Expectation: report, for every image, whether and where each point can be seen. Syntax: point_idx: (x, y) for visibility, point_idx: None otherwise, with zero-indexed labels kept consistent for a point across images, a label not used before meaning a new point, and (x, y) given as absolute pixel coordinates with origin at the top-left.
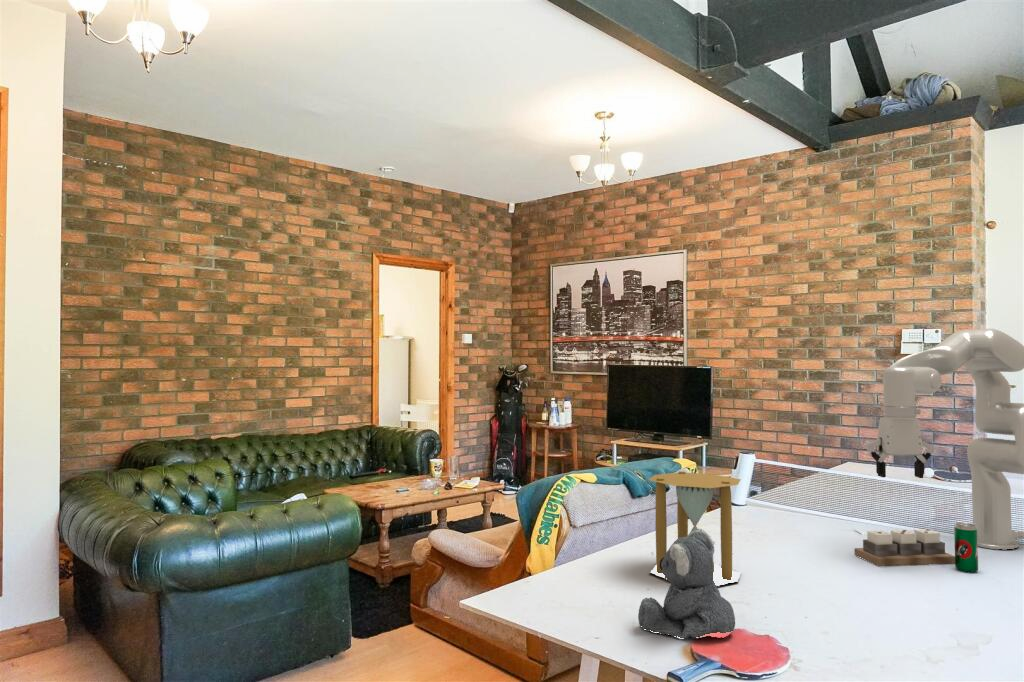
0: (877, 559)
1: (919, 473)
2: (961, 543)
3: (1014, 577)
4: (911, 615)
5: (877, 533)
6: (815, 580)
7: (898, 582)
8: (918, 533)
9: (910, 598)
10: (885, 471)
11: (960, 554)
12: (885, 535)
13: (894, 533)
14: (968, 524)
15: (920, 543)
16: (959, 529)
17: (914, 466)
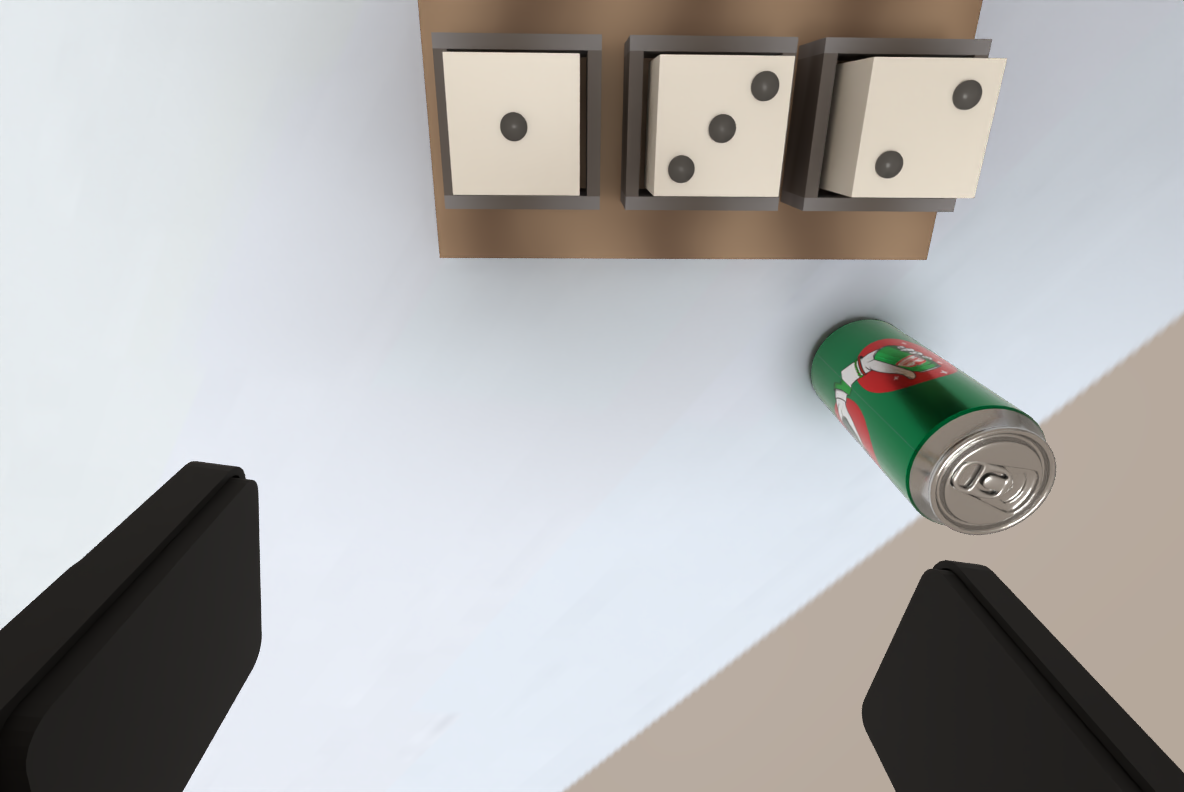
0: (439, 242)
1: (902, 758)
2: (869, 450)
3: None
4: (262, 751)
5: (485, 144)
6: (19, 418)
7: (404, 481)
8: (857, 115)
9: (344, 637)
10: (203, 746)
11: (841, 414)
12: (523, 194)
13: (655, 109)
14: (1025, 472)
15: (778, 203)
16: (905, 489)
17: (1064, 718)
